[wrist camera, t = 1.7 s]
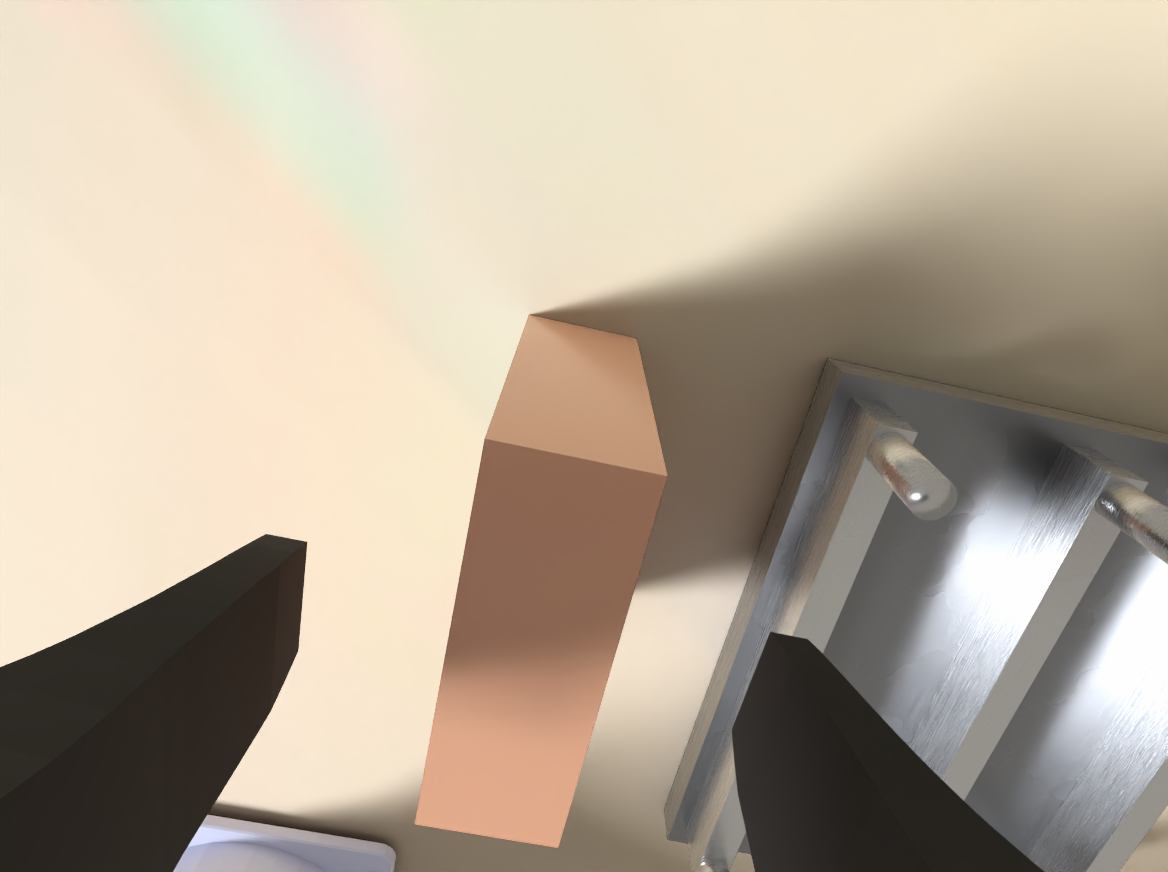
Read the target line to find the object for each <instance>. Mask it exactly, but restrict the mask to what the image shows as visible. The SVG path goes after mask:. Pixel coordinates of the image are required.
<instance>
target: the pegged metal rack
mask: <svg viewBox="0 0 1168 872" xmlns="http://www.w3.org/2000/svg"><path fill="white" fill-rule="evenodd" d="M770 632H774V633H779V634H785V635H790V636H795V637H800V638H805V639H808V640H809V641H810V642H811V643H812V644H813V645H815V646H816V647H817V648H818V649H819V650H820V651H821V652H822V653H823V655H824V656H825V657H826V658H827V659H828V660H829V661H830V662H831V663H832V664H833V665H834V666H835V667H836V668H837V669H838V671H839V672H840V673H841V674H842V675H843V676H844V677H845V678H846V679H847V680H848V681H849V683H850V684H851V685H852V686H853V687H854V688H855V689H856V690H857V691H858V692H859V693H860V695H861V696H862V697H863V698H864V699H865V700H866V701H867V702H868V703H869V704H870V705H871V707H872V708H873V709H874V710H875V711H876V712H877V713H878V714H879V715H880V716H881V717H882V718H883V720H884V721H885V722H886V723H887V724H888V725H889V726H890V727H891V728H892V729H893V730H894V731H895V732H896V733H897V734H898V736H899V737H900V738H901V739H902V740H903V741H904V742H905V743H906V744H907V745H908V746H909V747H910V748H911V749H912V750H913V751H914V752H915V753H916V754H917V755H918V756H919V757H920V758H921V759H922V760H923V761H924V762H925V763H926V764H927V765H928V766H929V767H930V768H931V769H932V770H933V771H934V772H935V773H936V774H937V775H938V776H939V777H940V778H941V779H942V780H943V781H944V782H945V783H946V784H947V785H948V786H949V787H950V788H951V789H952V790H953V791H954V792H955V793H956V794H957V795H958V796H959V797H960V798H961V799H962V800H964V801H965V802H966V803H967V804H968V805H969V806H970V807H971V808H972V809H973V810H974V811H975V812H976V813H977V814H979V815H980V816H981V817H982V818H983V819H984V820H985V821H986V822H987V823H988V824H989V825H991V826H992V827H993V828H994V829H995V830H996V831H998V832H999V833H1000V834H1001V835H1002V836H1003V837H1004V838H1006V839H1007V840H1008V841H1009V842H1010V843H1011V844H1013V845H1014V846H1015V847H1016V848H1017V849H1018V850H1020V851H1021V852H1022V853H1023V854H1024V855H1025V856H1026V857H1028V858H1029V859H1030V860H1031V861H1032V862H1033V863H1035V864H1036V865H1037V866H1038V867H1039V868H1041V869H1042V870H1043V871H1044V872H1119V871H1120V869H1121V868H1122V867H1123V865H1124V864H1125V862H1126V861H1127V860H1128V858H1129V857H1130V856H1131V854H1132V853H1133V851H1134V850H1135V849H1136V847H1137V846H1138V845H1139V843H1140V842H1141V841H1142V839H1143V838H1144V836H1145V835H1146V834H1147V832H1148V831H1149V830H1150V828H1151V827H1152V825H1153V824H1154V823H1155V821H1156V820H1157V819H1158V817H1159V816H1160V815H1161V813H1162V812H1163V810H1164V809H1165V808H1166V806H1167V805H1168V434H1167V433H1163V432H1158V431H1154V430H1149V429H1145V428H1140V427H1136V426H1131V425H1127V424H1122V423H1118V422H1113V421H1109V420H1104V419H1100V418H1095V417H1091V416H1086V415H1082V414H1077V413H1073V412H1068V411H1064V410H1059V409H1055V408H1050V407H1046V406H1041V405H1037V404H1032V403H1028V402H1023V401H1019V400H1014V399H1010V398H1005V397H1001V396H996V395H992V394H987V393H983V392H978V391H974V390H969V389H965V388H960V387H956V386H951V385H947V384H942V383H938V382H933V381H929V380H924V379H920V378H915V377H911V376H906V375H902V374H897V373H893V372H888V371H884V370H879V369H875V368H870V367H866V366H861V365H857V364H852V363H848V362H843V361H839V360H834V359H830V358H828V359H827V362H826V365H825V367H824V370H823V373H822V376H821V378H820V381H819V384H818V387H817V389H816V392H815V395H814V398H813V401H812V403H811V406H810V409H809V412H808V414H807V417H806V420H805V423H804V425H803V428H802V431H801V434H800V436H799V439H798V442H797V445H796V447H795V450H794V453H793V456H792V458H791V461H790V464H789V467H788V469H787V472H786V475H785V478H784V480H783V483H782V486H781V489H780V491H779V494H778V497H777V500H776V502H775V505H774V508H773V511H772V513H771V516H770V519H769V522H768V524H767V527H766V530H765V533H764V535H763V538H762V541H761V544H760V546H759V549H758V552H757V555H756V557H755V560H754V563H753V566H752V568H751V571H750V574H749V577H748V579H747V582H746V585H745V588H744V590H743V593H742V596H741V599H740V601H739V604H738V607H737V610H736V612H735V615H734V618H733V621H732V623H731V626H730V629H729V632H728V634H727V637H726V640H725V643H724V645H723V648H722V651H721V654H720V656H719V659H718V662H717V665H716V667H715V670H714V673H713V676H712V678H711V681H710V684H709V687H708V689H707V692H706V695H705V698H704V700H703V703H702V706H701V709H700V711H699V714H698V717H697V720H696V722H695V725H694V728H693V731H692V733H691V736H690V739H689V742H688V744H687V747H686V750H685V753H684V755H683V758H682V761H681V764H680V766H679V769H678V772H677V775H676V777H675V780H674V783H673V786H672V788H671V791H670V794H669V797H668V799H667V802H666V805H665V808H664V814H665V823H666V833H667V840H671V841H677V842H683V843H688V849H689V857H690V864H691V872H729V870H730V868H731V865H732V863H733V861H734V858H735V856H736V854H737V852H742V853H748V854H751V851H750V847H749V842H748V838H747V833H746V829H745V824H744V820H743V816H742V811H741V806H740V802H739V797H738V791H737V782H736V773H735V764H734V753H733V741H732V728H733V725H734V723H735V720H736V717H737V715H738V712H739V710H740V707H741V705H742V702H743V700H744V697H745V695H746V692H747V690H748V687H749V684H750V682H751V679H752V677H753V674H754V672H755V669H756V667H757V664H758V662H759V659H760V656H761V654H762V651H763V649H764V646H765V644H766V641H767V639H768V636H769V634H770Z"/></svg>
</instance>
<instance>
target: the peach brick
mask: <svg viewBox="0 0 1168 872" xmlns="http://www.w3.org/2000/svg"><path fill="white" fill-rule="evenodd" d="M667 477H668V476H667V471H666V467H665V462H664V458H663V453H662V449H661V444H660V440H659V436H658V431H657V427H656V422H655V418H654V413H653V409H652V404H651V400H650V395H649V391H648V387H647V382H646V378H645V373H644V369H643V364H642V360H641V355H640V351H639V346H638V342H637V338H633V337H628V336H624V335H619V334H615V333H610V332H605V331H601V330H596V329H592V328H587V327H583V326H578V325H574V324H569V323H565V322H560V321H555V320H551V319H546V318H542V317H537V316H533V315H529V316H528V319H527V322H526V324H525V327H524V330H523V333H522V336H521V339H520V341H519V344H518V347H517V350H516V353H515V355H514V358H513V361H512V364H511V367H510V369H509V372H508V375H507V378H506V381H505V383H504V386H503V389H502V392H501V395H500V397H499V400H498V403H497V406H496V409H495V411H494V414H493V417H492V420H491V423H490V425H489V428H488V431H487V434H486V437H485V440H484V446H483V451H482V457H481V462H480V468H479V473H478V479H477V484H476V490H475V495H474V501H473V506H472V512H471V517H470V523H469V528H468V534H467V539H466V544H465V550H464V555H463V561H462V566H461V572H460V577H459V583H458V588H457V594H456V599H455V605H454V610H453V616H452V621H451V627H450V632H449V638H448V643H447V649H446V654H445V660H444V665H443V671H442V676H441V681H440V687H439V692H438V698H437V703H436V709H435V714H434V720H433V725H432V731H431V736H430V742H429V747H428V753H427V758H426V764H425V769H424V775H423V780H422V786H421V791H420V797H419V802H418V808H417V813H416V818H415V825H421V826H427V827H433V828H439V829H445V830H451V831H458V832H464V833H470V834H476V835H482V836H488V837H494V838H500V839H506V840H512V841H518V842H524V843H530V844H536V845H542V846H549V847H555V848H558V847H559V844H560V840H561V837H562V834H563V830H564V827H565V823H566V820H567V817H568V813H569V810H570V806H571V803H572V800H573V796H574V793H575V789H576V786H577V783H578V779H579V776H580V772H581V769H582V766H583V762H584V759H585V755H586V752H587V749H588V745H589V742H590V738H591V735H592V732H593V728H594V725H595V721H596V718H597V715H598V711H599V708H600V704H601V701H602V698H603V694H604V691H605V687H606V684H607V681H608V677H609V674H610V670H611V667H612V664H613V660H614V657H615V653H616V650H617V647H618V643H619V640H620V636H621V633H622V630H623V626H624V623H625V619H626V616H627V613H628V609H629V606H630V602H631V599H632V596H633V592H634V589H635V585H636V582H637V579H638V575H639V572H640V568H641V565H642V562H643V558H644V555H645V551H646V548H647V545H648V541H649V538H650V534H651V531H652V528H653V524H654V521H655V517H656V514H657V511H658V507H659V504H660V500H661V497H662V494H663V490H664V487H665V483H666V480H667Z"/></svg>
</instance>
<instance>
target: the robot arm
mask: <svg viewBox="0 0 1168 872" xmlns="http://www.w3.org/2000/svg"><path fill="white" fill-rule="evenodd" d="M306 550H307V542H304V541H299V540H294V539H289V538H284V537H279V536H273V535H268V534H266V535H264V536H262V537H260V538H258V539H256V540H254V541H252V542H250V543H249V544H247V545H245V546H243V547H242V548H240V549H238V550H236V551H235V552H233V553H231V554H229V555H228V556H226V557H224V558H222V559H221V560H219V561H217V562H215V563H213V564H212V565H210V566H208V567H206V568H205V569H203V570H201V571H199V572H198V573H196V574H194V575H192V576H190V577H188V578H187V579H185V580H183V581H181V582H179V583H177V584H176V585H174V586H172V587H170V588H168V589H166V590H165V591H163V592H161V593H159V594H157V595H156V596H154V597H152V598H150V599H148V600H146V601H144V602H142V603H140V604H138V605H136V606H134V607H132V608H130V609H128V610H126V611H124V612H122V613H120V614H118V615H116V616H114V617H112V618H110V619H108V620H105V621H103V622H101V623H99V624H97V625H95V626H93V627H91V628H89V629H87V630H85V631H83V632H81V633H79V634H77V635H75V636H73V637H71V638H68V639H66V640H64V641H62V642H60V643H57V644H55V645H53V646H50V647H48V648H46V649H44V650H41V651H39V652H37V653H34V654H32V655H30V656H27V657H25V658H22V659H20V660H17V661H15V662H12V663H10V664H7V665H5V666H2V667H0V872H394V866H395V860H396V853H395V852H394V850H393V849H392V848H391V847H390V846H388V845H386V844H383V843H378V842H372V841H366V840H360V839H354V838H348V837H341V836H335V835H329V834H323V833H317V832H311V831H305V830H299V829H293V828H287V827H280V826H274V825H268V824H262V823H256V822H250V821H244V820H238V819H232V818H226V817H220V816H213V815H208V813H209V811H210V810H211V808H212V806H213V805H214V803H215V802H216V800H217V798H218V797H219V795H220V793H221V792H222V790H223V789H224V787H225V785H226V784H227V782H228V780H229V779H230V777H231V776H232V774H233V772H234V771H235V769H236V768H237V766H238V764H239V763H240V761H241V759H242V758H243V756H244V754H245V753H246V751H247V750H248V748H249V746H250V745H251V743H252V741H253V740H254V738H255V736H256V735H257V733H258V731H259V730H260V728H261V727H262V725H263V723H264V721H265V720H266V718H267V716H268V715H269V713H270V711H271V709H272V707H273V705H274V703H275V701H276V699H277V696H278V694H279V692H280V690H281V688H282V686H283V684H284V681H285V679H286V677H287V675H288V672H289V670H290V668H291V666H292V663H293V661H294V659H295V657H296V654H297V652H298V647H299V635H300V623H301V610H302V598H303V586H304V574H305V562H306ZM732 741H733V753H734V764H735V773H736V782H737V791H738V797H739V802H740V806H741V811H742V816H743V820H744V824H745V829H746V833H747V838H748V842H749V847H750V851H751V855H752V859H753V864H754V868H755V872H1044V871H1043V870H1042V869H1041V868H1039V867H1038V866H1037V865H1036V864H1035V863H1033V862H1032V861H1031V860H1030V859H1029V858H1028V857H1026V856H1025V855H1024V854H1023V853H1022V852H1021V851H1020V850H1018V849H1017V848H1016V847H1015V846H1014V845H1013V844H1011V843H1010V842H1009V841H1008V840H1007V839H1006V838H1004V837H1003V836H1002V835H1001V834H1000V833H999V832H998V831H996V830H995V829H994V828H993V827H992V826H991V825H989V824H988V823H987V822H986V821H985V820H984V819H983V818H982V817H981V816H980V815H979V814H977V813H976V812H975V811H974V810H973V809H972V808H971V807H970V806H969V805H968V804H967V803H966V802H965V801H964V800H962V799H961V798H960V797H959V796H958V795H957V794H956V793H955V792H954V791H953V790H952V789H951V788H950V787H949V786H948V785H947V784H946V783H945V782H944V781H943V780H942V779H941V778H940V777H939V776H938V775H937V774H936V773H935V772H934V771H933V770H932V769H931V768H930V767H929V766H928V765H927V764H926V763H925V762H924V761H923V760H922V759H921V758H920V757H919V756H918V755H917V754H916V753H915V752H914V751H913V750H912V749H911V748H910V747H909V746H908V745H907V744H906V743H905V742H904V741H903V740H902V739H901V738H900V737H899V736H898V734H897V733H896V732H895V731H894V730H893V729H892V728H891V727H890V726H889V725H888V724H887V723H886V722H885V721H884V720H883V718H882V717H881V716H880V715H879V714H878V713H877V712H876V711H875V710H874V709H873V708H872V707H871V705H870V704H869V703H868V702H867V701H866V700H865V699H864V698H863V697H862V696H861V695H860V693H859V692H858V691H857V690H856V689H855V688H854V687H853V686H852V685H851V684H850V683H849V681H848V680H847V679H846V678H845V677H844V676H843V675H842V674H841V673H840V672H839V671H838V669H837V668H836V667H835V666H834V665H833V664H832V663H831V662H830V661H829V660H828V659H827V658H826V657H825V656H824V655H823V653H822V652H821V651H820V650H819V649H818V648H817V647H816V646H815V645H813V644H812V643H811V642H810V641H809V640H808V639H805V638H800V637H795V636H790V635H785V634H779V633H774V632H770V634H769V636H768V639H767V641H766V644H765V646H764V649H763V651H762V654H761V656H760V659H759V662H758V664H757V667H756V669H755V672H754V674H753V677H752V679H751V682H750V684H749V687H748V690H747V692H746V695H745V697H744V700H743V702H742V705H741V707H740V710H739V712H738V715H737V717H736V720H735V723H734V725H733V728H732Z"/></svg>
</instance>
